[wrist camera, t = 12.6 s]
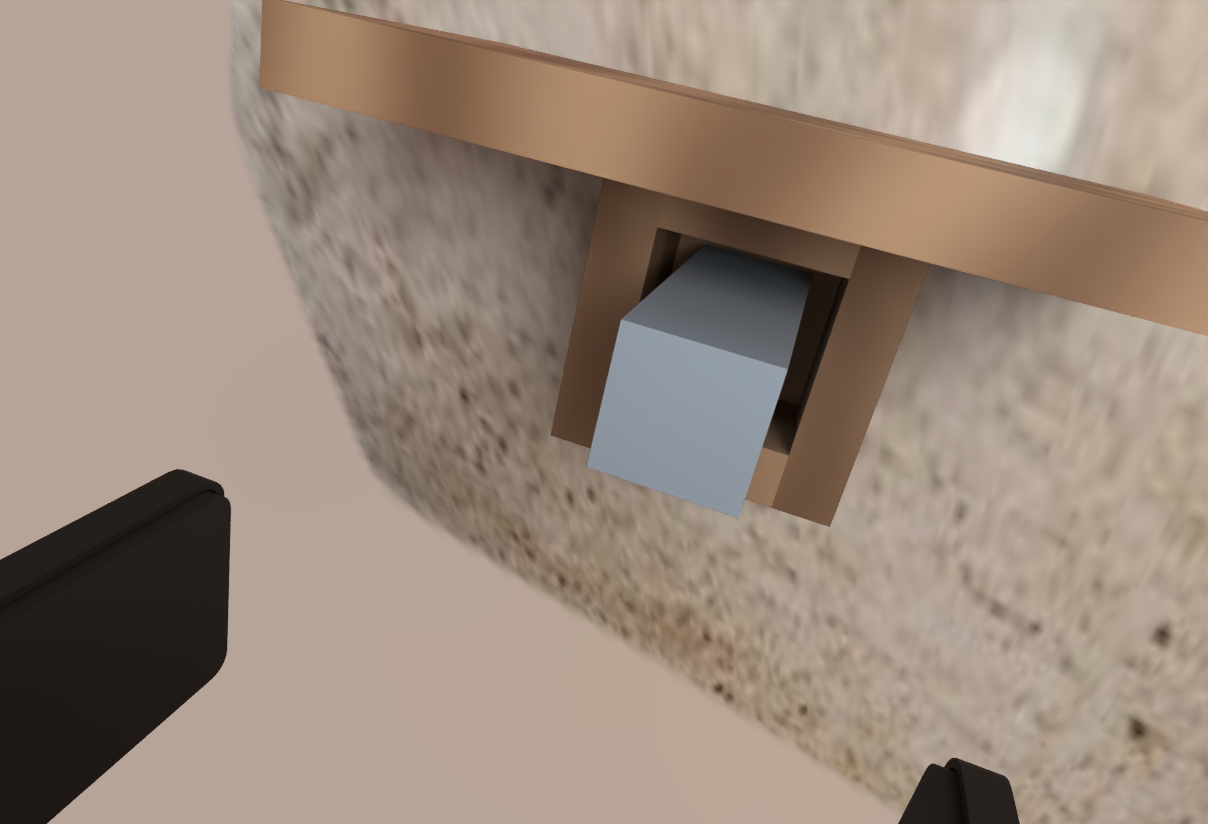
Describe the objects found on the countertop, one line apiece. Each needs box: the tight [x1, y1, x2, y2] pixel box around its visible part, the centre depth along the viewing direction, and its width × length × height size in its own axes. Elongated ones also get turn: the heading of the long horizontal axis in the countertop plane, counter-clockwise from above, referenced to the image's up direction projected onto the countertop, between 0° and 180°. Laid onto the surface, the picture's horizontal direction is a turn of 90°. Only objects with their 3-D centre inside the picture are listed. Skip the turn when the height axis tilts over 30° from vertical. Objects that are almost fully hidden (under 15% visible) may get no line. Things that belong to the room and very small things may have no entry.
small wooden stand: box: [260, 0, 1208, 527], centre depth 25 cm, size 24×12×14 cm, turn 77°
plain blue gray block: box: [587, 244, 813, 518], centre depth 25 cm, size 4×4×12 cm
